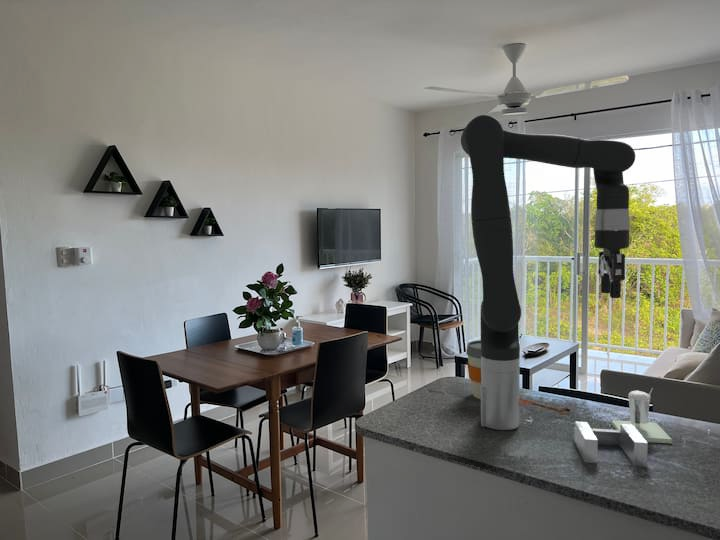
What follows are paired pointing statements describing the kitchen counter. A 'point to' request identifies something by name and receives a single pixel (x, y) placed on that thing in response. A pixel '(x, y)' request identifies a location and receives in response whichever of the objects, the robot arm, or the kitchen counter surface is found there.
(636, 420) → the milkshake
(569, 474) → the kitchen counter surface
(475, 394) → the reusable coffee cup
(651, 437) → the mat
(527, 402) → the key
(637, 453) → the grey u-shaped bracket
